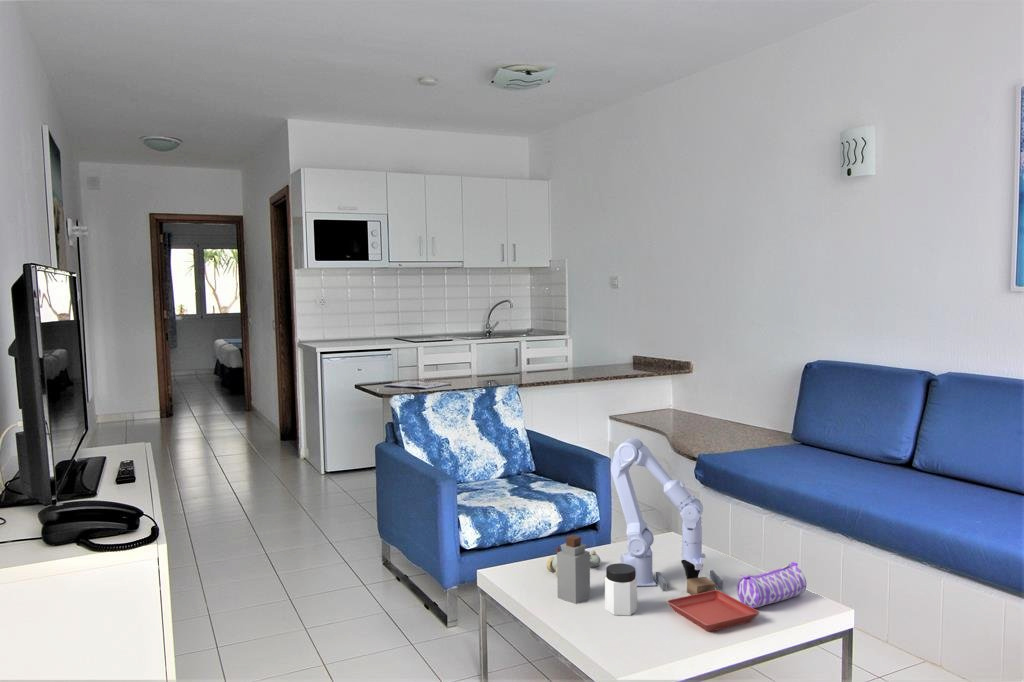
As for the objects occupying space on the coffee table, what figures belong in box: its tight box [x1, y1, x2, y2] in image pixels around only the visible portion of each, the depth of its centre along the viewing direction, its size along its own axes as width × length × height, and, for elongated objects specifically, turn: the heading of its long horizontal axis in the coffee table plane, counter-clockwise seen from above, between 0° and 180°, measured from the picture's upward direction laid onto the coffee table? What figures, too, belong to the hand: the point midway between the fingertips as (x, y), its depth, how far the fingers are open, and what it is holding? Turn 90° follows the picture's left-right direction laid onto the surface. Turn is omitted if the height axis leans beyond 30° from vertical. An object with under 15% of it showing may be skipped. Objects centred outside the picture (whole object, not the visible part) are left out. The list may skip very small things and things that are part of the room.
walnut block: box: [686, 576, 717, 596], centre depth 227 cm, size 6×6×4 cm
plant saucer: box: [666, 589, 760, 632], centre depth 212 cm, size 18×18×3 cm
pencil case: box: [736, 561, 807, 609], centre depth 222 cm, size 22×9×10 cm, turn 123°
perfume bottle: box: [556, 534, 591, 605], centre depth 226 cm, size 7×7×18 cm
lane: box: [655, 569, 723, 592], centre depth 235 cm, size 18×9×2 cm, turn 93°
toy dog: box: [546, 546, 601, 575], centre depth 249 cm, size 12×19×9 cm, turn 140°
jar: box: [604, 562, 638, 617], centre depth 217 cm, size 9×8×12 cm
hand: (691, 584), depth 232 cm, fingers closed
